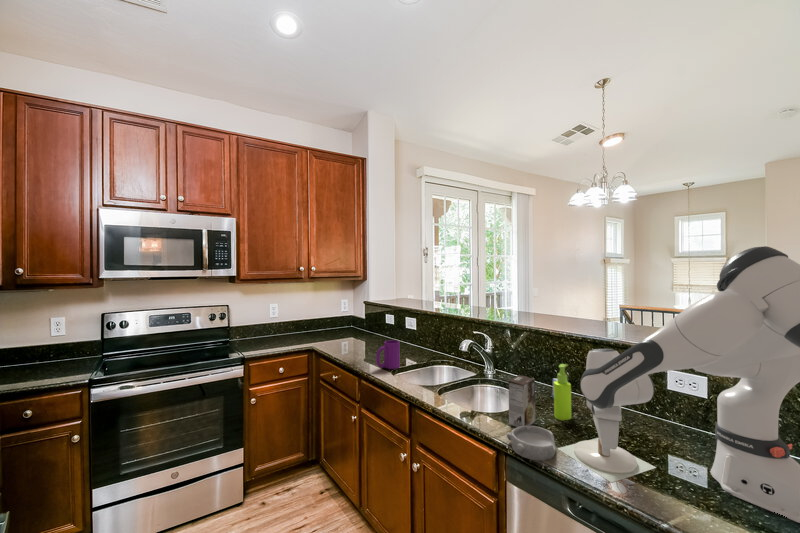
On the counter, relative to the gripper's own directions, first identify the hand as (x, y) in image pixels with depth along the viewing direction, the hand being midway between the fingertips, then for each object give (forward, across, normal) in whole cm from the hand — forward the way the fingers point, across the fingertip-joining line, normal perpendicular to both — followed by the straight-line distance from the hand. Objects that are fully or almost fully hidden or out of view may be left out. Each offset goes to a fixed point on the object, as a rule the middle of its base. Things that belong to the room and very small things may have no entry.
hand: (604, 449), depth 99 cm
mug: (+3, -58, -100) cm, 116 cm away
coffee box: (+3, -16, -24) cm, 29 cm away
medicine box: (+3, -44, -10) cm, 45 cm away
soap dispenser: (+3, -27, -10) cm, 29 cm away
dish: (+4, +3, -20) cm, 20 cm away
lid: (+2, 0, 0) cm, 2 cm away
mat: (+3, 0, 0) cm, 3 cm away
